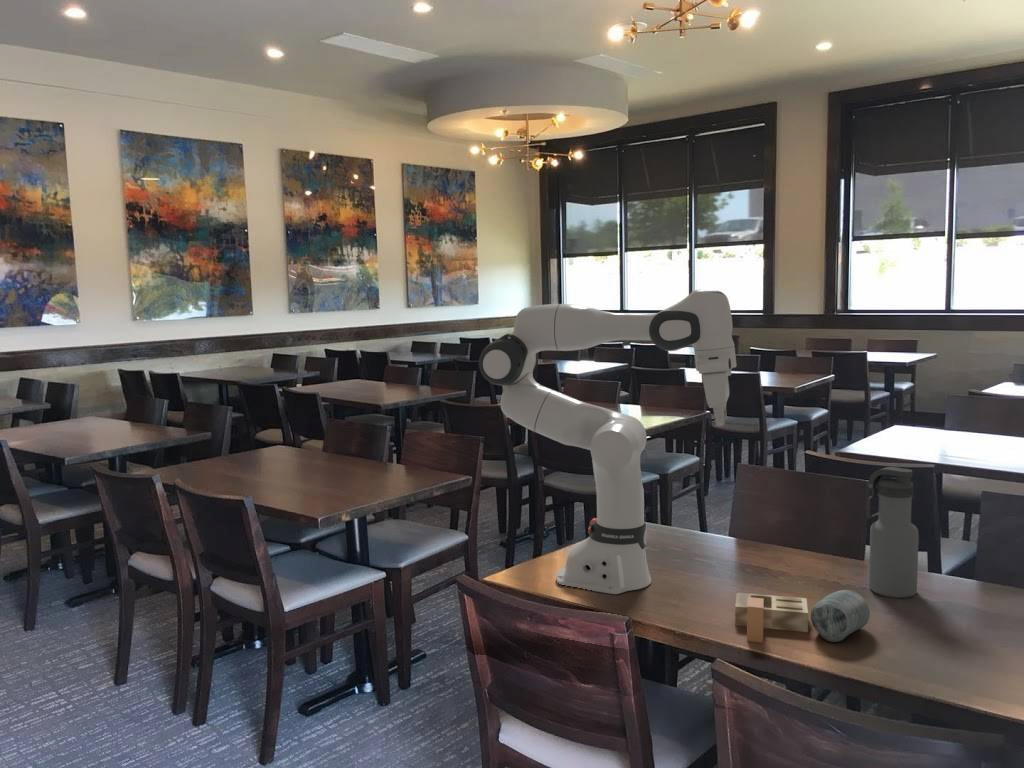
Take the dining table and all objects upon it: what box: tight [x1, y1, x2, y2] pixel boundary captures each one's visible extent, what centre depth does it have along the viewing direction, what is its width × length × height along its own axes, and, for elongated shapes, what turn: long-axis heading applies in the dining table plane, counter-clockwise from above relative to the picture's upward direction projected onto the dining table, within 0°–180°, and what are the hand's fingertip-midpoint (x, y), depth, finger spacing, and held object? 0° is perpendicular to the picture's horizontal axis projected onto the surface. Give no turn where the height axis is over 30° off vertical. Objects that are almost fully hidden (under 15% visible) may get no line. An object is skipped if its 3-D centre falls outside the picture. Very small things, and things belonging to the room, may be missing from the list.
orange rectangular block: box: [746, 597, 764, 643], centre depth 159 cm, size 3×5×7 cm, turn 162°
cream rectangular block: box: [734, 592, 809, 633], centre depth 166 cm, size 14×8×4 cm, turn 72°
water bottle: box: [866, 466, 920, 599], centre depth 180 cm, size 10×10×28 cm
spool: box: [810, 589, 871, 643], centre depth 159 cm, size 14×10×10 cm
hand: (721, 422), depth 181 cm, fingers open, 8 cm apart
